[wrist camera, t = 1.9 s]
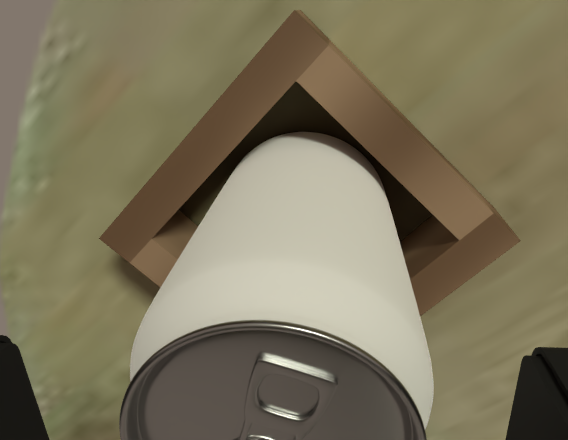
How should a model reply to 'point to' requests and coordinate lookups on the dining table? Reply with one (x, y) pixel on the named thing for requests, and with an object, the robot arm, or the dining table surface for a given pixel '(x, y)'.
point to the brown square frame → (360, 124)
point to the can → (286, 312)
